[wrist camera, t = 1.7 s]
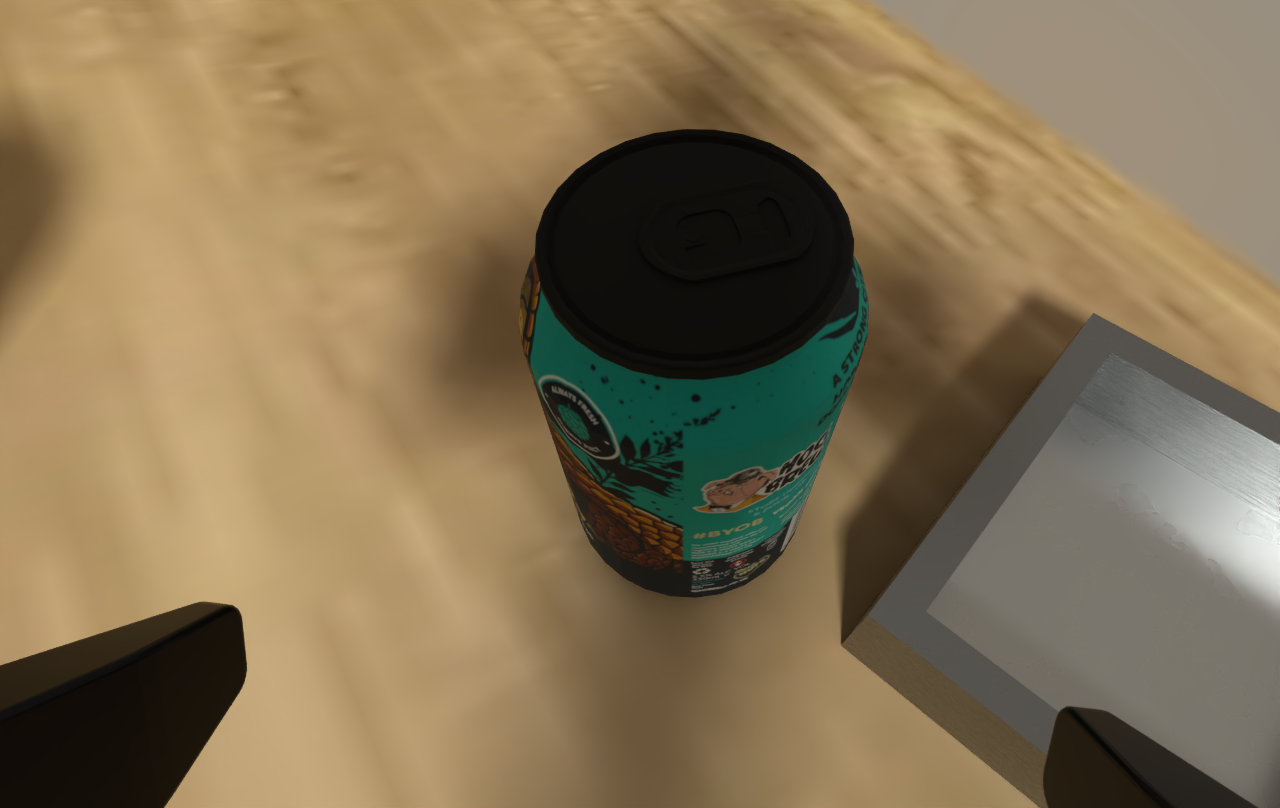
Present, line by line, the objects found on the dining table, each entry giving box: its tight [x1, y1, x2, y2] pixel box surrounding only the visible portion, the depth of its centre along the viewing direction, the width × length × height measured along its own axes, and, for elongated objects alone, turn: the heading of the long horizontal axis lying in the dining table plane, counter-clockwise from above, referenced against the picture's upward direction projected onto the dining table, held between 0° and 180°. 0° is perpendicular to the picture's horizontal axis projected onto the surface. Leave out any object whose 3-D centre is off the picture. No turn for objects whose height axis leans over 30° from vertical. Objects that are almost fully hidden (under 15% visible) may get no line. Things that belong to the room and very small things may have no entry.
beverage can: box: [519, 129, 869, 597], centre depth 18 cm, size 7×7×12 cm
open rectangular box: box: [841, 313, 1280, 808], centre depth 19 cm, size 12×12×4 cm
